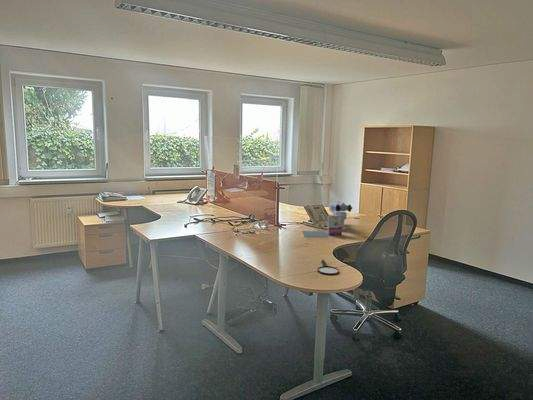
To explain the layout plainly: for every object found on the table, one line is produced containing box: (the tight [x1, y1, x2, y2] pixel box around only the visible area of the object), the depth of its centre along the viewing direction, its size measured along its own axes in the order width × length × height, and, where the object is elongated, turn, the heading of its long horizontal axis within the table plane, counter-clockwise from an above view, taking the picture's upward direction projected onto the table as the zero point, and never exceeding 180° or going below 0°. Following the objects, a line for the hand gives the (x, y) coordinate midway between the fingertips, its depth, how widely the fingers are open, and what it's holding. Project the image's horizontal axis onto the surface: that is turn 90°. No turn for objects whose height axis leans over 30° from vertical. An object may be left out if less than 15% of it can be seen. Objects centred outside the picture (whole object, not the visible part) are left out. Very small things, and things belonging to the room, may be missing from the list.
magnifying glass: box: [317, 259, 340, 276], centre depth 246 cm, size 12×24×2 cm, turn 2°
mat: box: [302, 230, 329, 239], centre depth 334 cm, size 20×19×1 cm
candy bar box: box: [326, 214, 342, 237], centre depth 332 cm, size 11×5×16 cm, turn 105°
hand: (345, 208), depth 330 cm, fingers open, 7 cm apart
